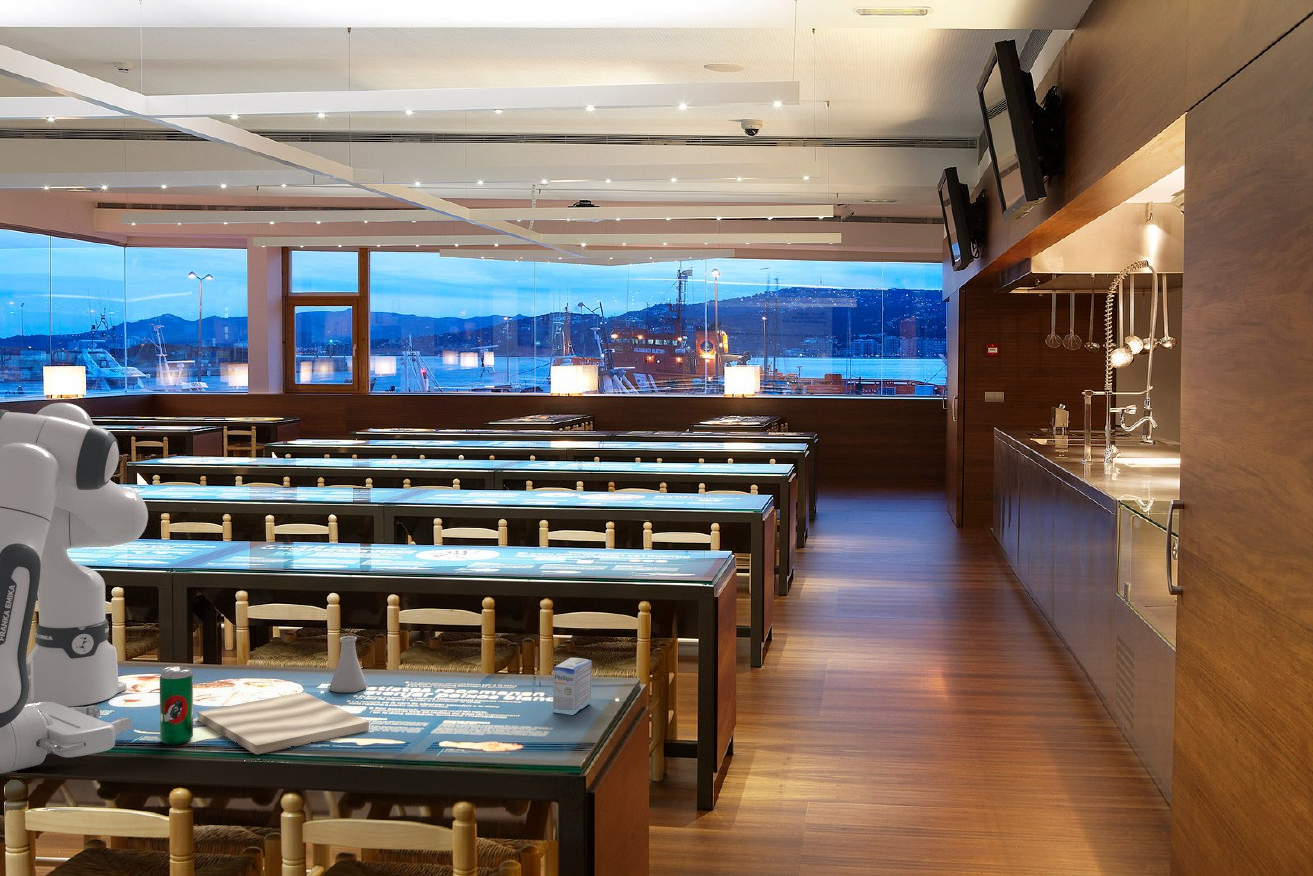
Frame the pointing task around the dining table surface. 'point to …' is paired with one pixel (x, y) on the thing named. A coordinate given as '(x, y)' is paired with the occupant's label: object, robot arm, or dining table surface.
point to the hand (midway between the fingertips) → (113, 716)
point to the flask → (348, 669)
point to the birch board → (281, 722)
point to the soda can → (176, 705)
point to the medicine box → (572, 683)
